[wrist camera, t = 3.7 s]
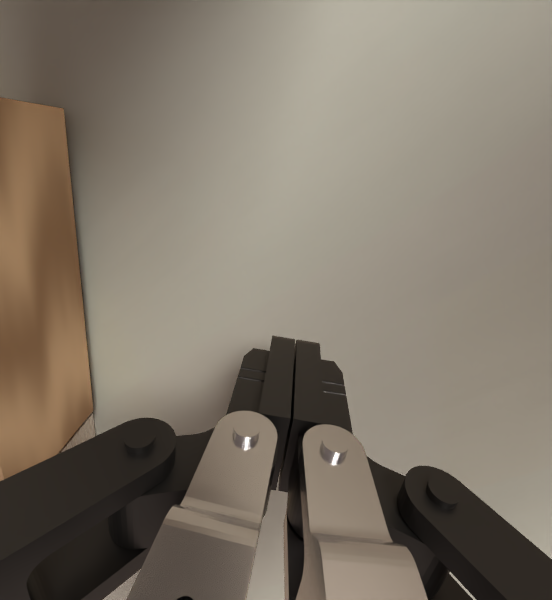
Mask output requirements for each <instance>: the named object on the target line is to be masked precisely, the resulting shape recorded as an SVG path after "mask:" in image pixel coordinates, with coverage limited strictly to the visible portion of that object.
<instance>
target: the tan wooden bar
mask: <svg viewBox="0 0 552 600" xmlns="http://www.w3.org/2000/svg"><path fill="white" fill-rule="evenodd" d="M92 412H93V401H92V391H91V381H90V371H89V361H88V350H87V340H86V330H85V320H84V310H83V299H82V289H81V279H80V269H79V259H78V249H77V238H76V228H75V218H74V208H73V198H72V188H71V177H70V167H69V157H68V147H67V137H66V127H65V116H64V109H63V108H58V107H52V106H46V105H41V104H35V103H29V102H24V101H18V100H12V99H7V98H1V97H0V481H2V480H4V479H6V478H8V477H10V476H13V475H15V474H17V473H19V472H21V471H23V470H25V469H27V468H30V467H32V466H34V465H36V464H38V463H40V462H42V461H44V460H47V459H49V458H51V457H53V456H55V455H57V454H58V453H59V451H60V450H61V449H62V448H63V447H64V445H65V444H66V443H67V442H68V440H69V439H70V438H71V437H72V436H73V434H74V433H75V432H76V431H77V430H78V428H79V427H80V426H81V425H82V424H83V422H84V421H85V420H86V419H87V418H88V416H89V415H90V414H91V413H92Z"/></svg>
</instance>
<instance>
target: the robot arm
mask: <svg viewBox="0 0 552 600" xmlns="http://www.w3.org/2000/svg"><path fill="white" fill-rule="evenodd" d="M294 348H295V349H294ZM279 472H280V477H279ZM278 477H279V490H278V491H284V492H288V502H287V510H286V515H285V519H284V589H285V600H473V599H472V598H471V597H470V596H469V595H468V594H467V593H466V592H465V591H464V590H463V588H462V587H461V586H460V585H459V584H458V583H457V582H456V581H455V580H454V579H453V578H452V577H451V575H450V574H449V572H451V573H452V574H453V575H454V576H455V577H456V578H457V579H458V580H459V581H460V582H461V583H462V584H463V586H464V587H465V588H466V589H467V590H468V591H469V592H470V593H471V594H472V595H473V596H474V597H475V598H476V600H552V559H550V558H549V557H548V556H547V555H546V554H545V553H543V552H542V551H541V550H540V549H539V548H538V547H536V546H535V545H534V544H533V543H532V542H530V541H529V540H528V539H527V538H526V537H525V536H523V535H522V534H521V533H520V532H519V531H517V530H516V529H515V528H514V527H513V526H512V525H510V524H509V523H508V522H507V521H506V520H504V519H503V518H502V517H501V516H500V515H499V514H497V513H496V512H495V511H494V510H493V509H491V508H490V507H489V506H488V505H487V504H486V503H484V502H483V501H482V500H481V499H480V498H478V497H477V496H476V495H475V494H474V493H473V492H471V491H470V490H469V489H468V488H467V487H465V486H464V485H463V484H462V483H461V482H460V481H458V480H457V479H456V478H454V477H453V476H451V475H450V474H448V473H446V472H444V471H442V470H440V469H437V468H434V467H430V466H417V467H414V468H412V469H410V470H409V471H408V473H407V474H406V476H403V475H401V474H399V473H397V472H394V471H392V470H390V469H388V468H385V467H383V466H381V465H379V464H377V463H376V462H374V461H373V460H371V459H370V458H369V457H367V456H366V453H365V450H364V448H363V446H362V444H361V442H360V441H359V440H358V439H357V438H356V437H355V436H354V435H353V433H352V427H351V421H350V415H349V409H348V404H347V398H346V392H345V386H344V380H343V374H342V372H341V370H340V369H339V368H338V366H337V365H336V364H335V362H333V361H327V360H321V356H320V344H319V343H314V342H308V341H302V340H296V344H295V339H289V338H283V337H277V336H272V341H271V347H270V351H266V350H260V349H254V348H253V349H252V350H251V351H250V352H249V353H247V354H246V355H245V356H244V358H243V362H242V365H241V369H240V371H239V375H238V378H237V381H236V385H235V388H234V391H233V394H232V398H231V401H230V404H229V408H228V411H227V414H226V416H224V417H223V418H221V419H220V420H219V422H218V423H217V425H216V427H215V428H213V429H211V430H209V431H206V432H203V433H200V434H193V435H183V436H175V433H174V430H173V429H172V428H171V426H169V425H168V424H167V423H165V422H164V421H161V420H159V419H154V418H139V419H134V420H130V421H128V422H125V423H123V424H121V425H119V426H117V427H114V428H112V429H110V430H108V431H106V432H104V433H102V434H100V435H97V436H95V437H93V438H91V439H89V440H87V441H85V442H83V443H80V444H78V445H76V446H74V447H72V448H70V449H68V450H66V451H63V452H61V453H59V454H57V455H55V456H53V457H51V458H49V459H47V460H44V461H42V462H40V463H38V464H36V465H34V466H32V467H30V468H27V469H25V470H23V471H21V472H19V473H17V474H15V475H13V476H10V477H8V478H6V479H4V480H2V481H0V600H103V599H104V598H105V597H106V596H107V595H109V594H110V593H111V592H112V591H114V590H115V589H116V588H117V587H119V586H120V585H121V584H122V583H124V582H125V581H126V580H127V579H128V578H130V577H131V576H132V575H133V574H135V573H136V572H137V571H138V570H140V569H141V570H140V572H139V574H138V576H137V578H136V581H135V583H134V585H133V587H132V589H131V591H130V593H129V596H128V598H127V600H246V598H247V593H248V588H249V583H250V577H251V572H252V567H253V562H254V557H255V552H256V547H257V542H258V537H259V532H260V527H261V522H262V518H263V517H264V515H265V513H266V510H267V505H268V500H269V495H270V490H276V487H277V482H278Z"/></svg>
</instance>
